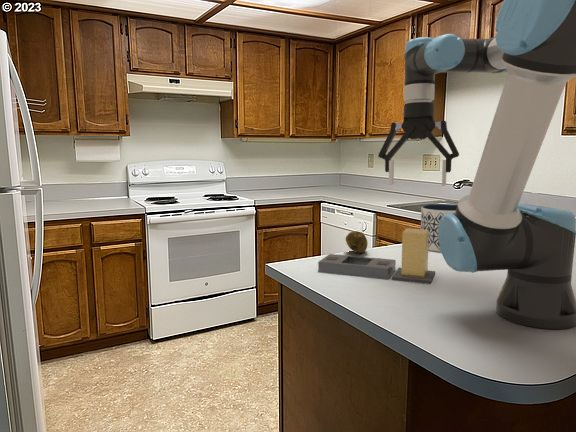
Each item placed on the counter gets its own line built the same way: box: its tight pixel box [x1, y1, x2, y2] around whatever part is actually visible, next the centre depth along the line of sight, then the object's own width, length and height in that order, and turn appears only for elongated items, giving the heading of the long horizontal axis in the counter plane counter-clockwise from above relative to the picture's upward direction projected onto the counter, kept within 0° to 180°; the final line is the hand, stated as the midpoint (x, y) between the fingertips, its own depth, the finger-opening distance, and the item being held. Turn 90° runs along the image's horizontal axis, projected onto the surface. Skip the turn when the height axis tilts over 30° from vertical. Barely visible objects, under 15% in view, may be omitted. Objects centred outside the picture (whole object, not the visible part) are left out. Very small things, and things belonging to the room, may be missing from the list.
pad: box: [391, 267, 436, 285], centre depth 123 cm, size 10×10×1 cm
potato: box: [345, 230, 369, 254], centre depth 150 cm, size 8×13×8 cm, turn 155°
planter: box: [420, 203, 458, 253], centre depth 155 cm, size 16×16×14 cm
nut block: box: [401, 227, 429, 278], centre depth 122 cm, size 6×6×12 cm
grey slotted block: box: [317, 253, 397, 280], centre depth 129 cm, size 20×10×3 cm, turn 65°
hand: (416, 185), depth 119 cm, fingers open, 13 cm apart
